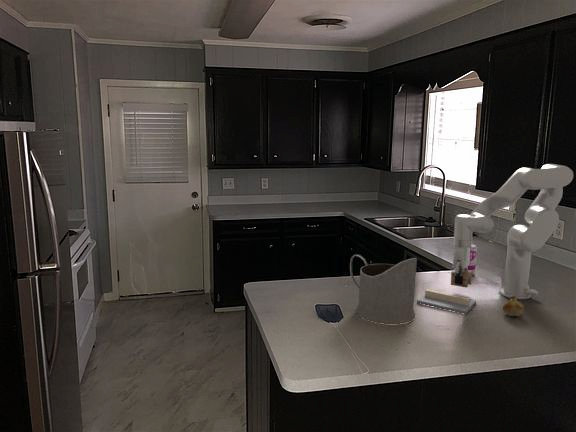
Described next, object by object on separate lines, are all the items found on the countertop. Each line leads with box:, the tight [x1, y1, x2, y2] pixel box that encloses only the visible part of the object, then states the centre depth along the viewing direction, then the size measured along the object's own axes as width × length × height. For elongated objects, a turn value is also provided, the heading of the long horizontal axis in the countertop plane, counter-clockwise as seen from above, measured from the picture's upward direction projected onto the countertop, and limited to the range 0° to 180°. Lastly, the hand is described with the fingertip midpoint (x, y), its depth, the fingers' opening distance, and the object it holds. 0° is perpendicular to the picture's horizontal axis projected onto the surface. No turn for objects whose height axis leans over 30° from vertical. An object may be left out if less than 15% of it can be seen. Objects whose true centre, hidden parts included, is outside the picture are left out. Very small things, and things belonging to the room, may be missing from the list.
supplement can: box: [459, 243, 478, 277], centre depth 240 cm, size 8×8×15 cm
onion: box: [502, 296, 525, 317], centre depth 187 cm, size 8×8×8 cm
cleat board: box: [416, 289, 477, 315], centre depth 199 cm, size 20×16×4 cm
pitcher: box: [349, 254, 418, 324], centre depth 189 cm, size 23×32×25 cm
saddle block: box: [450, 269, 472, 289], centre depth 211 cm, size 7×6×6 cm
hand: (460, 281), depth 211 cm, fingers closed on saddle block, 6 cm apart
